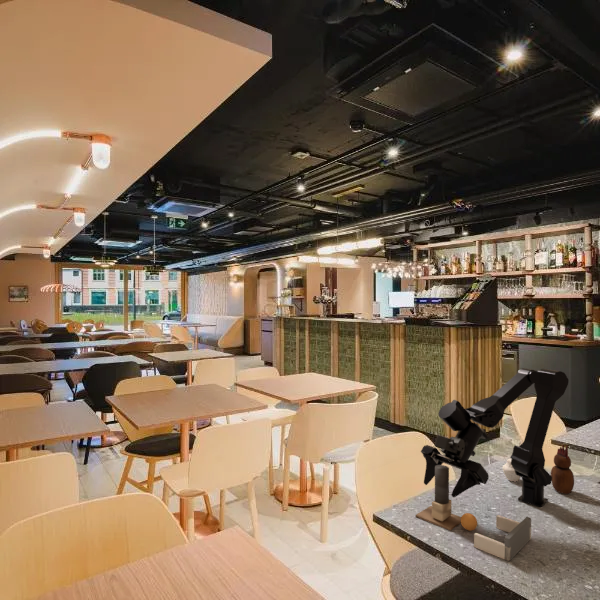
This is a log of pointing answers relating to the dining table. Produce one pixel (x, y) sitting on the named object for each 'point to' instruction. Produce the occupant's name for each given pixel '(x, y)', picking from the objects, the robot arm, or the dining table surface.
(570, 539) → the dining table surface
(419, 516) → the brown rectangular plate
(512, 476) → the muffin
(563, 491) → the wooden figurine
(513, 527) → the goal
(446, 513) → the ball
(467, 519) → the ball
